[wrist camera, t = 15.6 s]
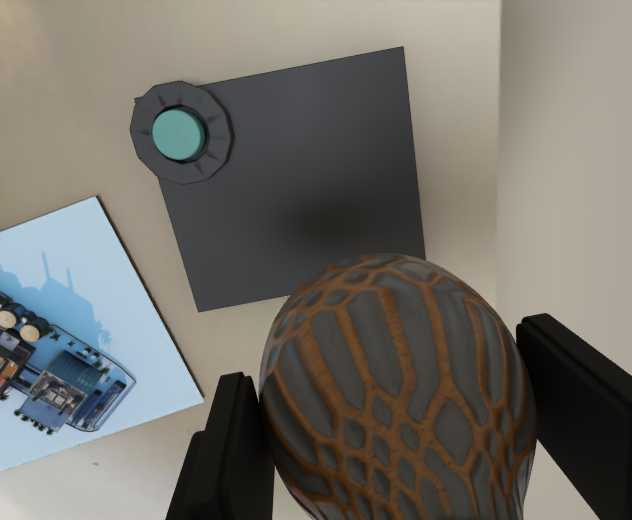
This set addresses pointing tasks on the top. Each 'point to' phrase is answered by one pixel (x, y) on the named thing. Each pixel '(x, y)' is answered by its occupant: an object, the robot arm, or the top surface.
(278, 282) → the scale
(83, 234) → the printed photo tile
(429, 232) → the top surface
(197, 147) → the button
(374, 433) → the vase
